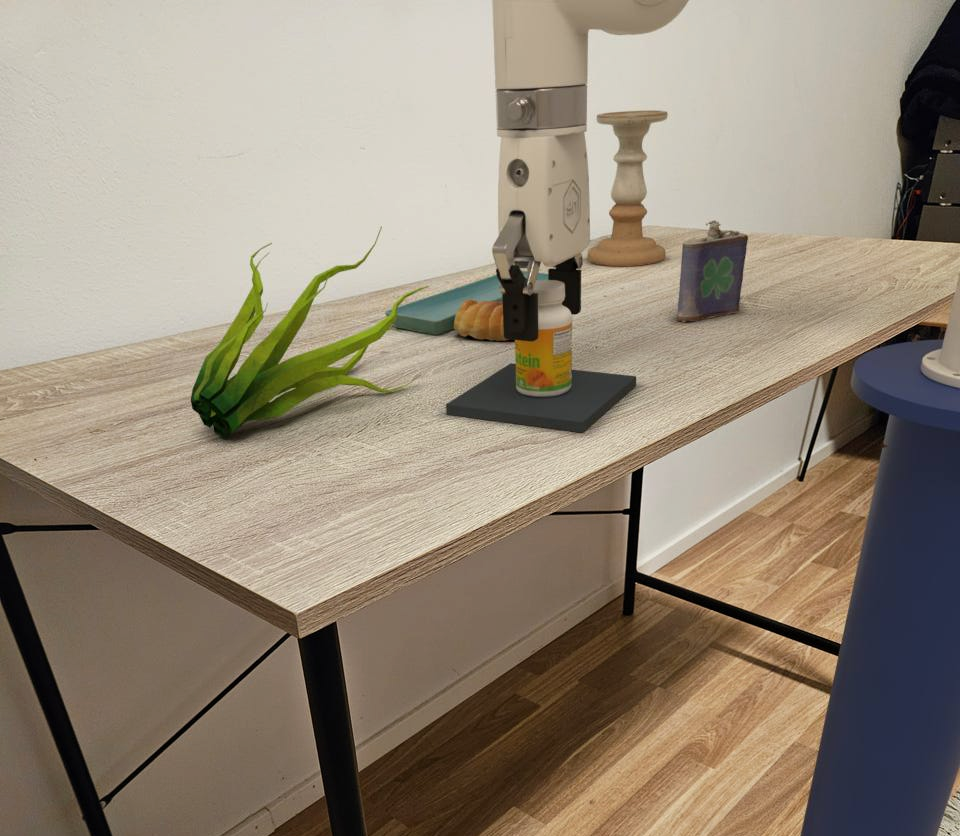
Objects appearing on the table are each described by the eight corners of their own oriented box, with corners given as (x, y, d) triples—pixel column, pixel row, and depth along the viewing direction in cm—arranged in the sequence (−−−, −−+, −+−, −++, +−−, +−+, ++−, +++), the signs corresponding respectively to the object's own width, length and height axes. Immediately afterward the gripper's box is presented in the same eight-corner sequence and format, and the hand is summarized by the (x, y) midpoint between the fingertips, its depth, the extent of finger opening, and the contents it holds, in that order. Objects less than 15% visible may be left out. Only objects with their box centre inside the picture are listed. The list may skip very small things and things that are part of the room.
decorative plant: (489, 382, 93) (483, 229, 84) (216, 453, 79) (178, 278, 71) (402, 347, 105) (390, 211, 97) (154, 403, 92) (116, 249, 84)
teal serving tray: (437, 338, 108) (436, 317, 106) (384, 328, 113) (382, 308, 111) (562, 293, 124) (562, 275, 123) (511, 287, 129) (510, 269, 128)
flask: (684, 323, 108) (692, 227, 102) (669, 318, 110) (676, 224, 104) (744, 312, 111) (754, 218, 105) (728, 307, 113) (738, 215, 108)
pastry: (543, 331, 108) (542, 298, 106) (517, 346, 103) (516, 312, 101) (476, 325, 112) (474, 293, 110) (448, 339, 107) (446, 306, 105)
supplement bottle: (504, 391, 87) (501, 286, 81) (542, 377, 90) (541, 275, 84) (544, 402, 83) (543, 293, 78) (583, 388, 86) (584, 282, 81)
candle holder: (638, 248, 149) (644, 108, 138) (680, 260, 139) (691, 110, 128) (573, 257, 145) (574, 114, 134) (612, 270, 135) (617, 117, 124)
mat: (636, 385, 89) (636, 376, 89) (582, 433, 79) (583, 422, 78) (511, 372, 95) (510, 362, 94) (446, 414, 85) (445, 404, 84)
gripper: (538, 121, 66) (541, 354, 75) (621, 105, 78) (614, 306, 88) (450, 123, 69) (464, 347, 78) (543, 107, 82) (545, 301, 91)
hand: (543, 325), depth 83 cm, fingers open, 9 cm apart
